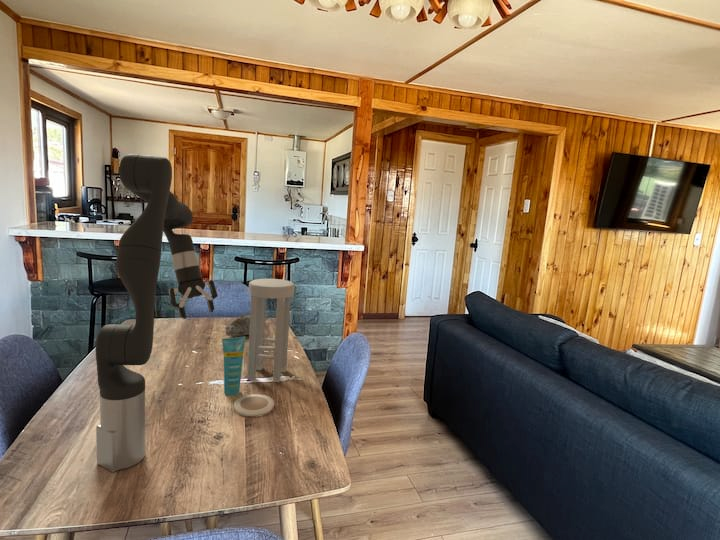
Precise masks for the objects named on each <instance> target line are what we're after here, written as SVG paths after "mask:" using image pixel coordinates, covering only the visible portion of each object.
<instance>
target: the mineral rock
mask: <svg viewBox="0 0 720 540" xmlns="http://www.w3.org/2000/svg"><path fill="white" fill-rule="evenodd" d="M249 332H250V314H249V315H246V314H245V313H242V314H241V315H239V316H238V317H237V318H236V319H234V320H232V321H231V323H230V324H228V325H227V326H226V327H225V335H226V336H228V337H229V336H230V337H243V336H246V335H247V336H249Z"/></svg>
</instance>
